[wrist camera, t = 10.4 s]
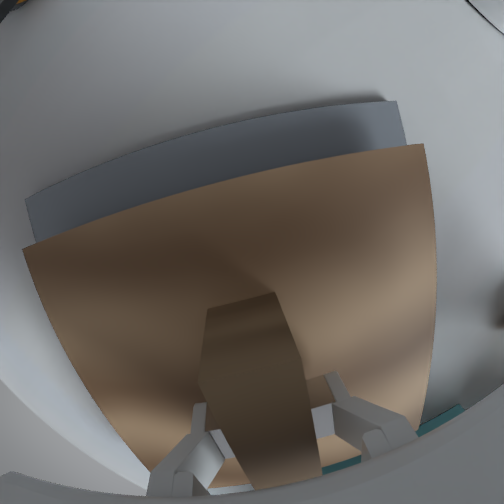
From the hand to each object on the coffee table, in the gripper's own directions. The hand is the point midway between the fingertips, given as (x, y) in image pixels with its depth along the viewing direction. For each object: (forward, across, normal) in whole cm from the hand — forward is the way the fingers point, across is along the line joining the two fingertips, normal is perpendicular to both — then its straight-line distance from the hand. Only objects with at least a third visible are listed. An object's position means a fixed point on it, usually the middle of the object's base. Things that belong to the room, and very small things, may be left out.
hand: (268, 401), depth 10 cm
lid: (+2, 0, 0) cm, 2 cm away
